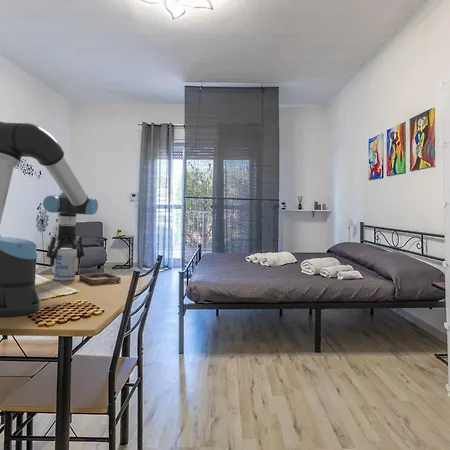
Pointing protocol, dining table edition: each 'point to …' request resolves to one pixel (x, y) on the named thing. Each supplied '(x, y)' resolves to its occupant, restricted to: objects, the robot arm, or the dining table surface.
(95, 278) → the well tray
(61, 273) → the supplement tub
